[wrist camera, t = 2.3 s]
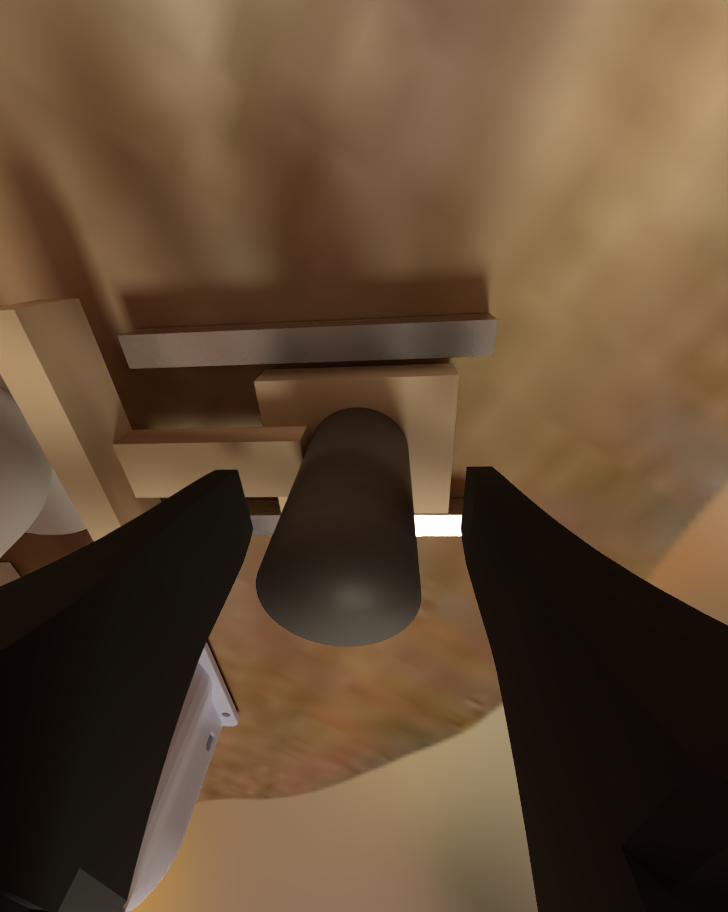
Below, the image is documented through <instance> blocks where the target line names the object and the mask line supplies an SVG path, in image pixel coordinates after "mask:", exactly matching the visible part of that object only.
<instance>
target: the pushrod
mask: <svg viewBox="0 0 728 912" xmlns="http://www.w3.org/2000/svg"><path fill="white" fill-rule="evenodd" d="M0 374H1V376H2V378H3V380H4V382H5V383H6V385H7V387H8V389H9V391H10V392H11V394H12V396H13V398H14V400H15V401H16V403H17V405H18V407H19V408H20V410H21V412H22V414H23V416H24V417H25V419H26V421H27V423H28V425H29V426H30V428H31V430H32V432H33V434H34V435H35V437H36V439H37V441H38V443H39V444H40V446H41V448H42V450H43V451H44V453H45V455H46V457H47V459H48V460H49V462H50V464H51V466H52V468H53V469H54V471H55V473H56V475H57V477H58V478H59V480H60V482H61V484H62V485H63V487H64V489H65V491H66V493H67V494H68V496H69V498H70V500H71V502H72V503H73V505H74V507H75V509H76V511H77V512H78V514H79V516H80V518H81V520H82V521H83V523H84V525H85V527H86V528H87V530H88V532H89V534H90V536H91V537H92V539H93V541H96V540H98V539H100V538H102V537H103V536H105V535H107V534H109V533H110V532H112V531H114V530H115V529H117V528H119V527H121V526H122V525H124V524H126V523H127V522H129V521H131V520H133V519H134V518H136V517H138V516H139V515H141V514H143V513H145V512H146V511H148V510H149V509H151V508H153V507H154V506H156V505H157V504H159V503H161V499H160V498H162V497H170V496H172V495H173V494H175V493H177V492H178V491H180V490H181V489H183V488H185V487H186V486H188V485H189V484H191V483H193V482H194V481H196V480H198V479H199V478H201V477H203V476H205V475H206V474H208V473H210V472H212V471H214V470H232V469H238V472H239V476H240V480H241V483H242V487H243V491H244V495H245V497H278V500H279V505H280V510H281V515H280V518H279V520H278V523H277V525H276V528H275V530H274V533H273V535H272V538H271V540H270V543H269V545H268V548H267V550H266V553H265V555H264V558H263V560H262V563H261V565H260V568H259V570H258V573H257V578H256V590H257V595H258V598H259V600H260V602H261V604H262V606H263V608H264V609H265V611H266V612H267V613H268V614H269V616H270V617H271V618H272V619H273V620H274V621H276V622H277V623H278V624H279V625H281V626H282V627H283V628H285V629H287V630H288V631H290V632H292V633H294V634H295V635H297V636H300V637H302V638H305V639H307V640H310V641H314V642H317V643H322V644H326V645H333V646H362V645H368V644H373V643H377V642H380V641H383V640H386V639H388V638H391V637H392V636H394V635H396V634H398V633H399V632H401V631H402V630H404V629H405V628H406V627H407V626H408V625H409V624H410V623H411V622H412V621H413V619H414V618H415V616H416V614H417V613H418V610H419V607H420V604H421V585H420V574H419V563H418V551H417V540H416V528H415V517H414V514H448V509H449V496H450V484H451V471H452V458H453V445H454V433H455V420H456V407H457V394H458V381H459V374H458V372H457V370H456V368H455V366H454V364H453V363H443V364H413V365H384V366H354V367H325V368H295V369H266V370H265V371H264V372H263V373H262V374H261V375H260V376H259V377H258V378H257V379H256V380H255V381H254V385H255V390H256V395H257V399H258V404H259V409H260V414H261V419H262V423H263V427H247V428H200V429H152V430H132V428H131V426H130V423H129V421H128V418H127V416H126V413H125V411H124V409H123V406H122V404H121V401H120V399H119V396H118V394H117V391H116V389H115V386H114V384H113V381H112V379H111V377H110V374H109V372H108V369H107V367H106V364H105V362H104V359H103V357H102V354H101V352H100V350H99V347H98V345H97V342H96V340H95V337H94V335H93V332H92V330H91V327H90V325H89V322H88V320H87V318H86V315H85V313H84V310H83V308H82V305H81V303H80V300H79V298H69V299H50V300H36V301H30V302H24V303H17V304H11V305H5V306H0Z"/></svg>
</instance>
